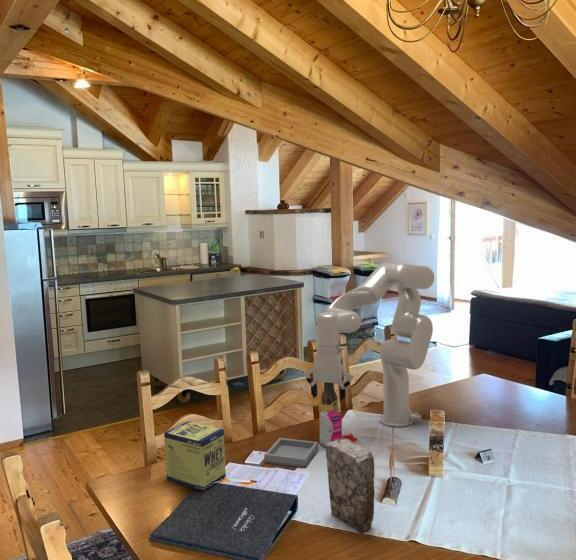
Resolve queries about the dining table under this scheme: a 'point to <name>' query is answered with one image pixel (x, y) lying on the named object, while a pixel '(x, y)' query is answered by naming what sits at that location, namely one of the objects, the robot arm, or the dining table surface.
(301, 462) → the slate tray
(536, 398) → the dining table surface
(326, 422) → the supplement box
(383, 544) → the dining table surface
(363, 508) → the stone block
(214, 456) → the protein box
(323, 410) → the sauce bottle
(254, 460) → the dining table surface
